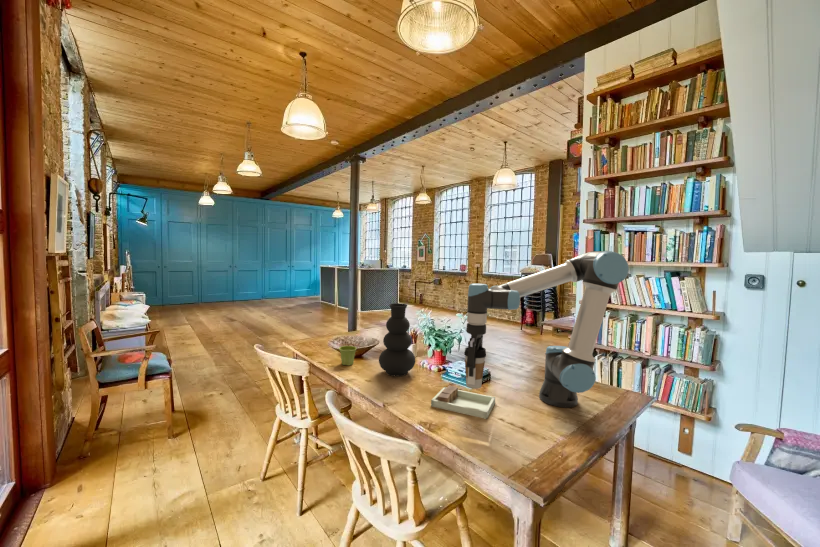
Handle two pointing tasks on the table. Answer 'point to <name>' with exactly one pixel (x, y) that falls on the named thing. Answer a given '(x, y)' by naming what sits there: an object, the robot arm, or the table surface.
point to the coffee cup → (478, 365)
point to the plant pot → (347, 354)
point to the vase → (397, 343)
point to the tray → (467, 404)
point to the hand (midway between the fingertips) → (474, 380)
